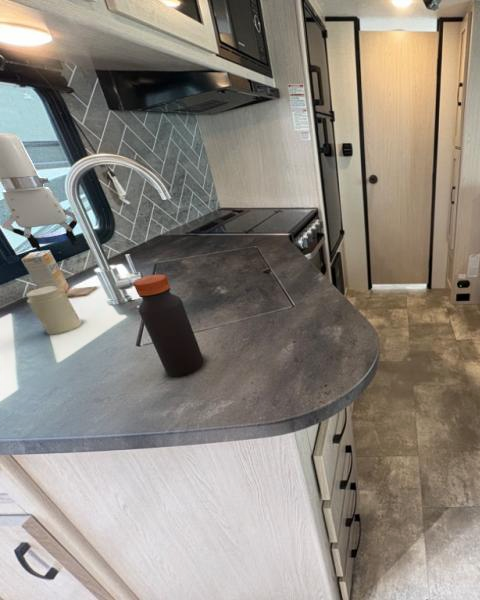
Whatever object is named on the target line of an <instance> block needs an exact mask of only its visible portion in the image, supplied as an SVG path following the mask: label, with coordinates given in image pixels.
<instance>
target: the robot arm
mask: <svg viewBox="0 0 480 600" xmlns="http://www.w3.org/2000/svg"><path fill="white" fill-rule="evenodd" d="M49 183H51V182H50V180H49V177H41V176H40V175H39V173H38V171H37V169H36V167H35V165H34V163H33V161H32V159H31V157H30V155H29V154H28V151H27V149H26V147H25V145H24V144H23V142H22V140H21V138H20V137H19V136H17V135H16V134H14V133H8V132H0V184H1V185H2V187H3V189H4V190H2V196H3V199H4V201H5V204H6V206H7V208H8V210H9V212H10V216H9V217H8V218H7V219H6V220H5V221H4V222H3V223H2V224H1V228H2V229H5V230H7V231H9V232H12V233H14V234H16V235H19V236H21V237H24V238H26V239H27V241H28V243H29V244H30V246H31V248H32V249H36V251H37V252H38V251H42V247H41V244H38V243H37V241H36V239H35V238H34V237H35V236H36V235H33V234H32V228H38V227H44V226H52V225H53V226H54V225H60V226H61V227H62V228H63V229H65V232H66V233H67V235H68V237H69V239H68V240H69V241H70V243H71V245H72V246H76V242H77V241H78V239H77V237H76V235H75V234H74V232H73V231H74V229H75V227H76V226H77V224H78V223H79V221H78V222H77V220H76V218H75V215H74V213H75V212H72V211H70V210H67V209H65V208H63V207H62V205H61V203H60V201H59V200H58V198H57V197H56V195H55V193H54V192H53V191H52V189H51V188H50V187H49V186H45V185H46V184H49ZM68 217H71V218H72V219H71V221H70V222H69V223H67V221H68ZM14 222H15V223H16V224H17V226H18V227H20V228H23V229H24V230H23V229H20V228H18V227H15V226H13V224H14Z"/></svg>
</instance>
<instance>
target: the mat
mask: <svg viewBox="0 0 480 600" xmlns="http://www.w3.org/2000/svg"><path fill="white" fill-rule="evenodd" d="M96 289H98V286H86V287H85V286H84V287H78V288H73V289H72V290H70V291H68V292H67V293H65V294H66V296H67V297H68V298H76V297H77V298H78V297H83V296H84V297H85V296H87V295H88V296H89V294H91V293H92V292H94V291H95V290H96Z"/></svg>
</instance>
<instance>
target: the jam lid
mask: <svg viewBox="0 0 480 600" xmlns="http://www.w3.org/2000/svg"><path fill="white" fill-rule="evenodd" d="M34 236H35V237H34V238H35V239H36V241H37V243H38V244H39V245H50V244H56V243H60V242H61V243H62V242H64V241H67V240H70V239H69V237H68V235H67V233H66V231H52V232H45V233H40V234H38V235H34Z"/></svg>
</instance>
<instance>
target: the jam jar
mask: <svg viewBox="0 0 480 600" xmlns="http://www.w3.org/2000/svg"><path fill="white" fill-rule="evenodd" d="M66 294H67V293H66V292H64V291H61V289H60V288H59V287H58V286H48V287H43V288H39V289H38V288H36V289H33V290H30V291H28V292H27V293H26V295H25V296H26V298H27V299H26V303H27V304H28V306H29V307H30V309H31V311H32V312H33V313H34V315H35V317H36V318H37V320H38V322H39V324H40V325H41V326H42V329H44V331H45V333H47V335H58V334H63V333H67V332H69V331H72V330H75V329H77V328H78V327H79V326H81V325H82V321H81V319H80V317H79V315H78V313H77V312H76V310H75V308H74V306H73V304H72V303H71V300H70V299H69V297H67V296H66Z"/></svg>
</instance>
